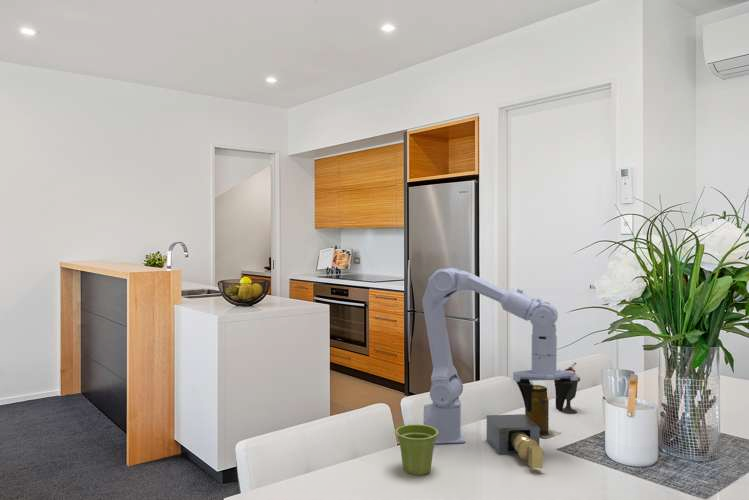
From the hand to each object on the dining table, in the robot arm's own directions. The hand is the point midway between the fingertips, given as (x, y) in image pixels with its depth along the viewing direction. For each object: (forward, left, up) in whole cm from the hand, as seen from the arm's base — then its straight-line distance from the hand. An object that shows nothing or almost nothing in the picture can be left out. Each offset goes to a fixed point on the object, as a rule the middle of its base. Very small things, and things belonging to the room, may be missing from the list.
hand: (543, 410), depth 131 cm
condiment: (+5, +15, -11) cm, 19 cm away
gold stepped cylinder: (-6, -5, -10) cm, 12 cm away
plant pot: (-32, -7, -11) cm, 34 cm away
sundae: (+21, +32, -11) cm, 40 cm away
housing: (-6, +5, -10) cm, 13 cm away
